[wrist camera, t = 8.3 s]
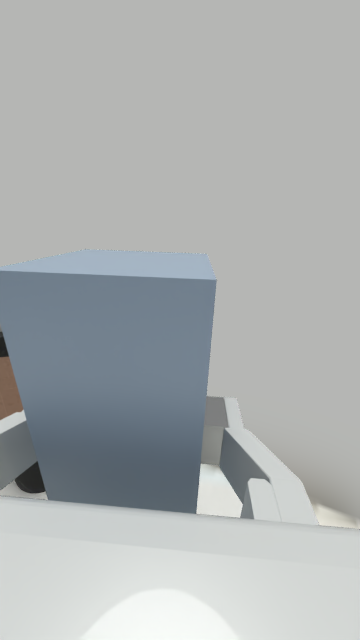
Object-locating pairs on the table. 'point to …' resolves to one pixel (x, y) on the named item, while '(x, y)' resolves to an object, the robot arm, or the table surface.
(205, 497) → the table surface
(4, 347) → the travel mug
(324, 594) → the robot arm
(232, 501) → the table surface
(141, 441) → the blue rectangular block
